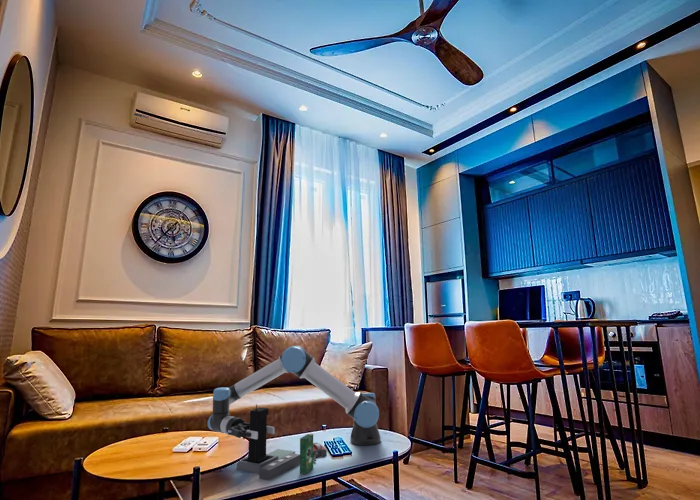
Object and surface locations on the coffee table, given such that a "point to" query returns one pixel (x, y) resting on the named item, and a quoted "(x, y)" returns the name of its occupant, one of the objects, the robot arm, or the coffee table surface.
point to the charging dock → (270, 465)
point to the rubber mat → (280, 453)
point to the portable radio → (258, 445)
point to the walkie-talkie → (318, 450)
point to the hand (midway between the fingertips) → (265, 433)
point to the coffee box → (306, 453)
